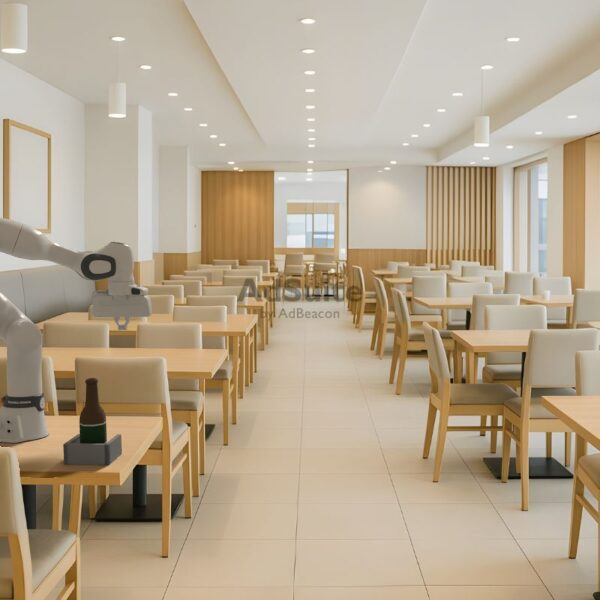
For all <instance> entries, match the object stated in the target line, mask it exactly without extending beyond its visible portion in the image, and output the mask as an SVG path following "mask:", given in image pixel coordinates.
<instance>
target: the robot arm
mask: <svg viewBox="0 0 600 600" xmlns="http://www.w3.org/2000/svg"><path fill="white" fill-rule="evenodd" d="M0 253H3V254H6V255H9V256H12V257H14V258H18V259H23V260H29V261H47V262H51V263H55V264H57V265H61V266H63V267H65V268H68V269H71V270H73V272H75V273H77V274H78V275H79V276H80V277H81V278H82V279H84V280H87V281H91V282H92V281H93V282H98V281H101V280H104V279H107V289H102V290H101V289H96V290H95V291H93V292H92V294H91V300H92V309H91V314H92V316H93V317H94V318H113V320H114V322H115V324H116V325H117V330H118V331H128V329H129V328H128V325H129V323H130V321H131V319H132V318H147V317H151V316H152V315H153V306H152V304H153V303H152V300H151V297H150V296H149V291H150V290H149V288H147V287H145V286H141V285H138V284H136V283H135V282H136V281H135V277H134V269H135V261H134V251H133V248H132V246H130V244H127V243H124V242H117V241H111V242H109V243H107V245H104V246H103V247H102V248H99V249H97V250H94V251H77V250H74V249H72V248H69V247H67V246H66V247H65V246H63V245H60V244H58V243H56V242H54V241H53V240H51V239H49V237H47V236H46V234H44V233H43V232H42V231H40V230H38V229H36V228H34V227H32V226H30V225H28V224H25V223H21V222H20V221H16V220H13V219H9V218H5V217H0ZM131 317H132V318H131ZM121 318H124V320H125V321H124V324H121V322H120V320H121ZM43 339H44V338H43V333H42V329H40V327H39V326H38V325H37V324H35V323H34V322H33V321H32V320H31V319H30V318H29V317H28V316H26V315H25V313H23V312H22V311H21V310H20V309H19V308H18V307H17V306H16V305H15V304H14V303H13V302H12V301H11V300H10V299H9V298H8V297H6V295H4V294H3V293H2V292H1V291H0V340H1V341H2V342H4V344H6V370H5V372H6V391H7V392H6V393H7V394H5V395H4V396H3V397H1V398H0V403H2V405H1V407H0V443H13V444H15V443H22V442H26V441H33V440H37V439H41V438H45V437H47V436H49V434H50V432H49V429H48V426H47V422H46V416H45V411H44V410H45V406H46V405H45V402H46V401H45V395H44V394H45V393H44V392H43V376H42V375H43V374H42V371H43V370H42V368H43Z"/></svg>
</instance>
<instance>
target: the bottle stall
mask: <svg viewBox="0 0 600 600" xmlns="http://www.w3.org/2000/svg"><path fill="white" fill-rule="evenodd" d="M122 445H123V444H122V434H115V436H113V437H112V438H110V440H107V443H106V444H88V443H80V433H78V434H76V435H74V436H73V437H72V438H70V439H69V440H67V441H65V442H64V443H63V445H62V446H63V447H62V448H63V450H62V451H63V465H65V466H66V465H67V466H69V465H70V466H71V465H72V466H76V465H78V466H110V465H111V464H112V463H113V462H115V460H117V459H118V458H119V457H120V456H121V455H122V454H123V449H122V448H123V447H122Z"/></svg>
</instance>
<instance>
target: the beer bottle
mask: <svg viewBox="0 0 600 600" xmlns="http://www.w3.org/2000/svg"><path fill="white" fill-rule="evenodd" d="M84 383H85V403H84V407H83V408H82V410H81V411H80V415H79V420H78V422H79V423H78V424H79V426H78V427H79V434H80V443H88V444H106V443H107V442H108V438H107V437H108V436H107V435H108V434H107V433H108V432H107V431H108V429H107V417H106V412H105V410H104V409H103V407H102V406H101V404H100V401H99V400H100V399H99V388H98V383H99V380H98V378H95V377H90V378H86V379H85V381H84Z"/></svg>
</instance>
